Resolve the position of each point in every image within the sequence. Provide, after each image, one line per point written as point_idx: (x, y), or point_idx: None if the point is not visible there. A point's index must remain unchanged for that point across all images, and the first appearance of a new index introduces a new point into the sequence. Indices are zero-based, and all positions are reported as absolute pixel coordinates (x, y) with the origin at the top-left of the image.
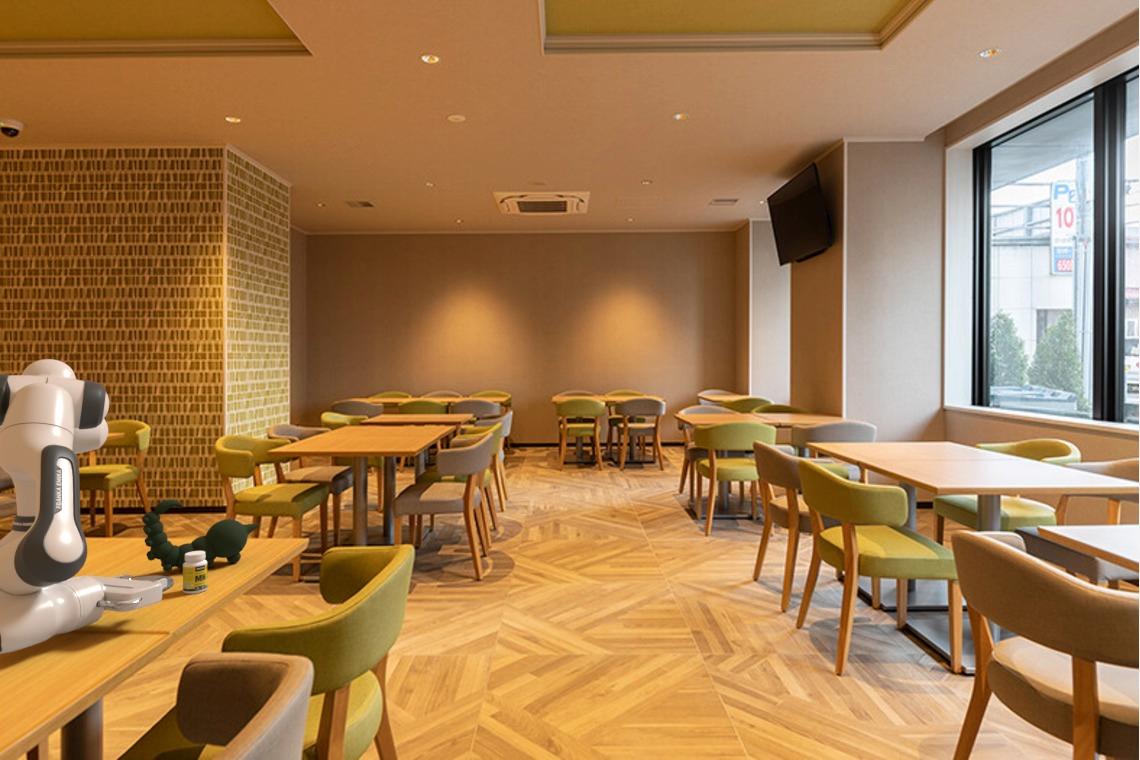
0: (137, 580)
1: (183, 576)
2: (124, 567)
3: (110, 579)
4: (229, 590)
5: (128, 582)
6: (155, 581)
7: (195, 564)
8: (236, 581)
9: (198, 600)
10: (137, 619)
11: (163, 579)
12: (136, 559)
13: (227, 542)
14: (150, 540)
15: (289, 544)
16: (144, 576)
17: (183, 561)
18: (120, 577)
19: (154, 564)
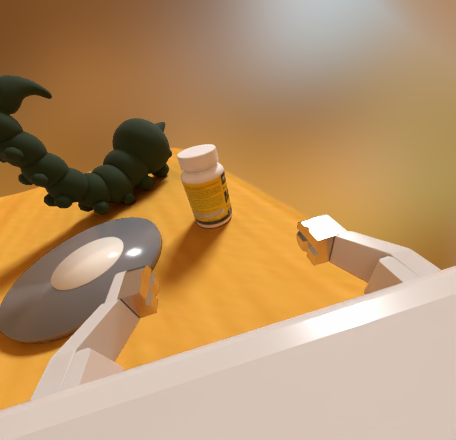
0: (397, 303)
1: (200, 202)
2: (10, 236)
3: (179, 428)
4: (261, 195)
5: (441, 379)
6: (372, 244)
7: (217, 170)
8: (229, 184)
9: (271, 227)
10: None
11: (335, 221)
12: (16, 219)
13: (159, 147)
14: (37, 173)
15: (172, 151)
16: (77, 235)
17: (119, 190)
18: (124, 299)
19: (56, 214)
